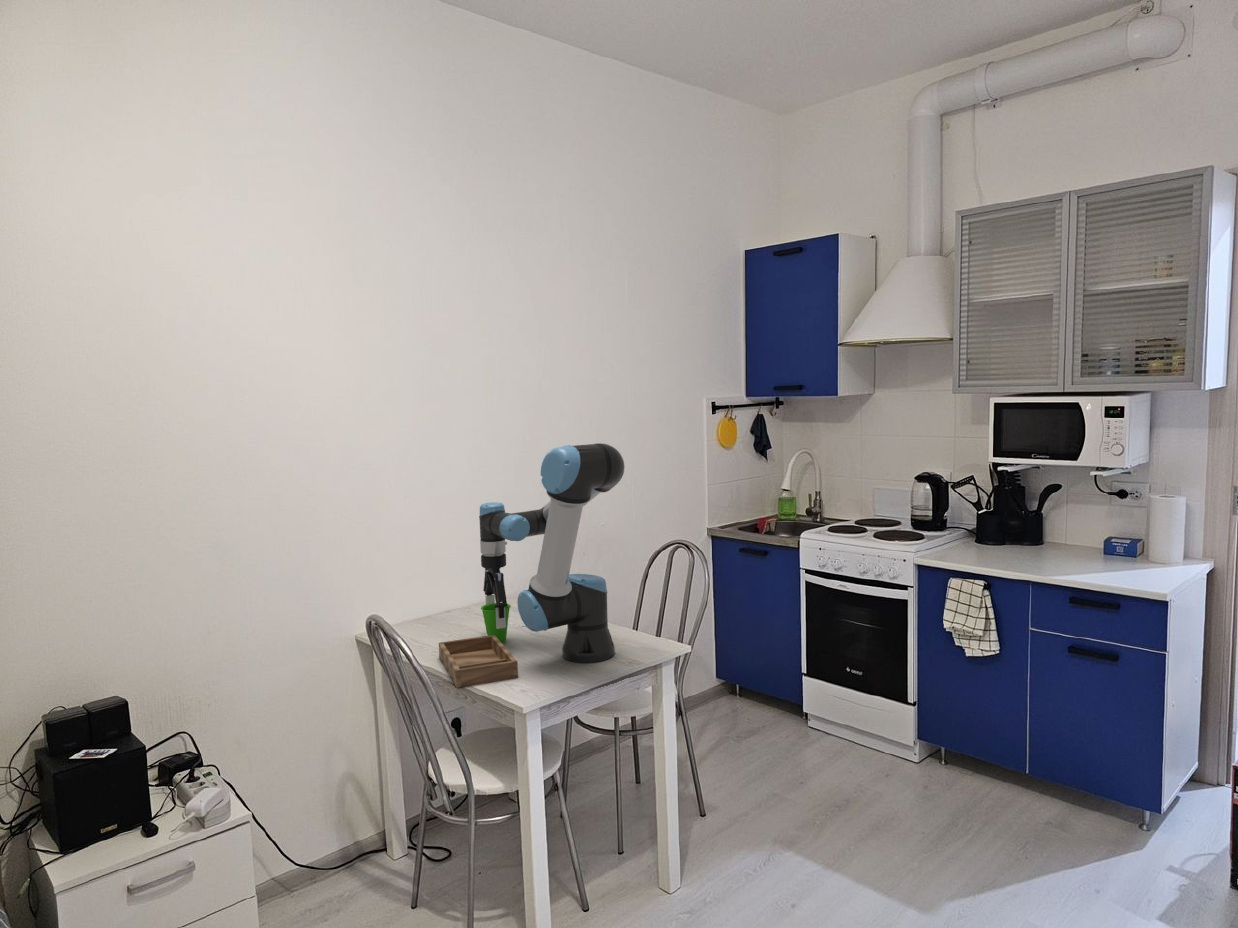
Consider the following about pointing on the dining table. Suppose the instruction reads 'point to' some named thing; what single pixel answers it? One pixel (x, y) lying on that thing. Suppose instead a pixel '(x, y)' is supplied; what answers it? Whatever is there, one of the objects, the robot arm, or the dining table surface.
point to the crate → (477, 661)
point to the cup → (494, 621)
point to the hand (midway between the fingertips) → (495, 621)
